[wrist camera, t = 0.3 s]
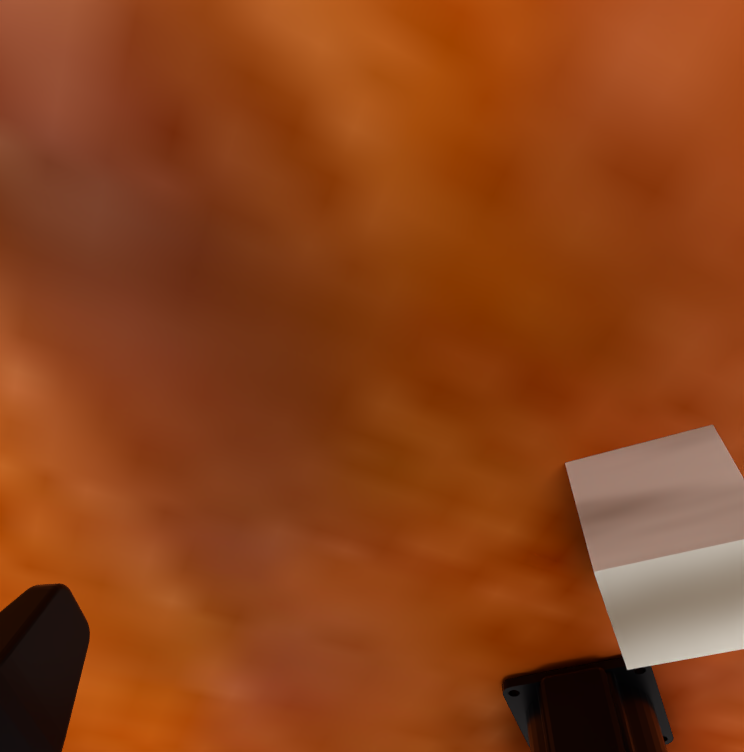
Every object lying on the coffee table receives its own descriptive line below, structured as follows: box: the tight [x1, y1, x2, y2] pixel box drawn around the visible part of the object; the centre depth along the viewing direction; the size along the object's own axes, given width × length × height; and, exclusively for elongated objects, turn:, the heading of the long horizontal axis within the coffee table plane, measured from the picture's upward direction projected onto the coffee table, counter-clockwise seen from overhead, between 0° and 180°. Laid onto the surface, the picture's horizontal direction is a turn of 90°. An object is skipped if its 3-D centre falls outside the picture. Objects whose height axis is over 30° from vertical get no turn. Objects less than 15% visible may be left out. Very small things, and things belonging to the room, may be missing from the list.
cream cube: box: [565, 425, 744, 670], centre depth 24 cm, size 5×5×5 cm
